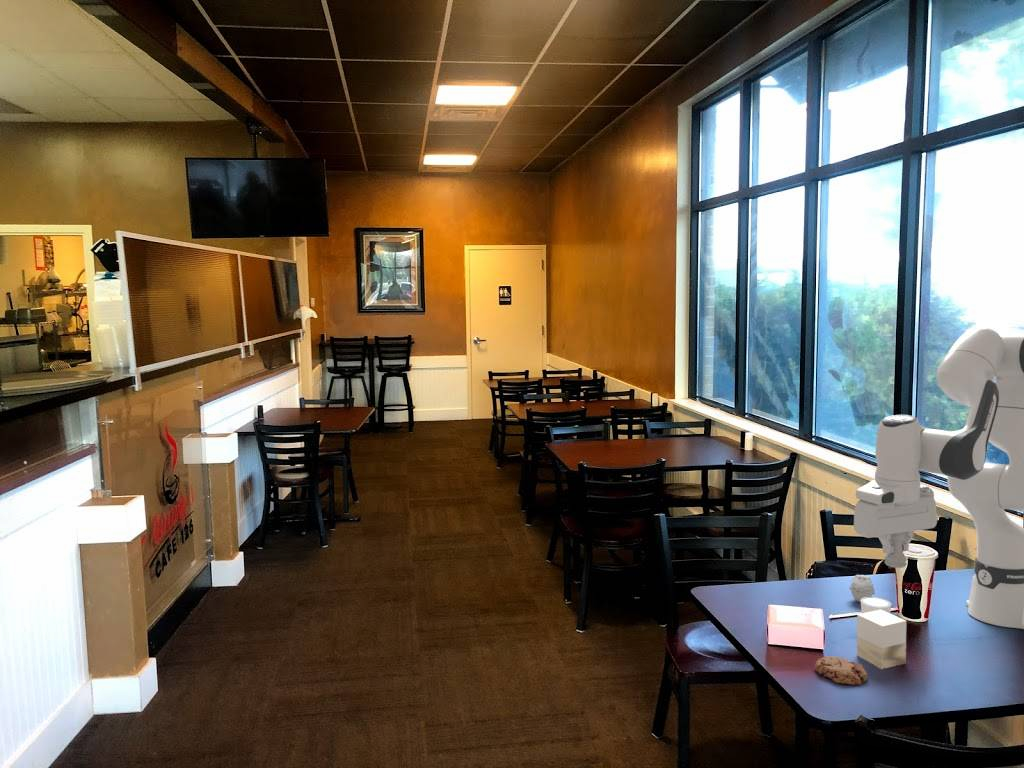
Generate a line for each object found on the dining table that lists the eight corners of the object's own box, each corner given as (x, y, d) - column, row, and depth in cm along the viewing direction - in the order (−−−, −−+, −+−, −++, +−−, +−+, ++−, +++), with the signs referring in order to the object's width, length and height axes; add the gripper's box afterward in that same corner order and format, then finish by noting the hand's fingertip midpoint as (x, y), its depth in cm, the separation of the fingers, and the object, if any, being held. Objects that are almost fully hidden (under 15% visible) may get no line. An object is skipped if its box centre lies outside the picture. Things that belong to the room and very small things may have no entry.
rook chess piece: (903, 562, 168) (904, 526, 168) (909, 568, 164) (910, 532, 163) (881, 561, 169) (882, 526, 169) (887, 567, 165) (888, 531, 164)
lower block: (880, 651, 175) (881, 630, 175) (905, 664, 169) (906, 642, 168) (856, 656, 173) (857, 635, 172) (881, 669, 166) (881, 647, 166)
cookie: (818, 660, 171) (818, 648, 171) (869, 671, 166) (870, 658, 166) (810, 679, 163) (810, 666, 163) (864, 691, 158) (864, 677, 157)
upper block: (880, 630, 175) (880, 609, 174) (905, 642, 168) (906, 620, 168) (856, 635, 172) (857, 614, 172) (882, 648, 166) (882, 626, 165)
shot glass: (894, 635, 182) (895, 607, 182) (863, 634, 184) (864, 606, 183) (886, 624, 189) (886, 597, 188) (856, 622, 191) (857, 595, 190)
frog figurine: (875, 598, 205) (876, 574, 205) (872, 608, 199) (873, 582, 199) (851, 595, 208) (851, 570, 208) (847, 603, 202) (848, 578, 202)
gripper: (921, 482, 172) (919, 542, 173) (849, 491, 165) (848, 553, 166) (945, 488, 166) (943, 550, 167) (871, 498, 159) (870, 562, 160)
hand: (895, 551), depth 167 cm, fingers closed on rook chess piece, 3 cm apart
